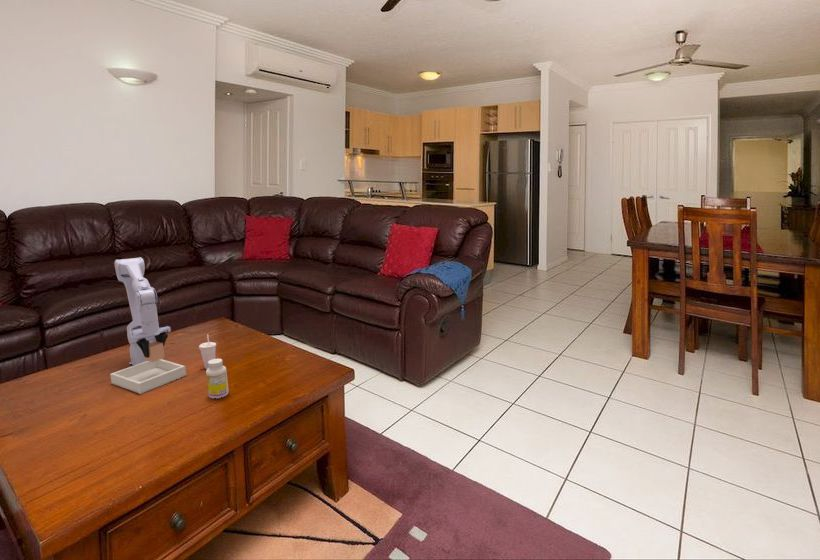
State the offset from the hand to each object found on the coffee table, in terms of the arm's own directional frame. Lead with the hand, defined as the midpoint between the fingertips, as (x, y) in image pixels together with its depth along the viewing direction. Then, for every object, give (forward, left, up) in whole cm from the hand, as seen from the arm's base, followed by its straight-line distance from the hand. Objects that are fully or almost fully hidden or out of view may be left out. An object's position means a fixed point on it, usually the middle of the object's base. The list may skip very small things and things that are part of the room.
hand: (153, 354), depth 175 cm
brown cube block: (0, 0, -2) cm, 2 cm away
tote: (+1, -3, -9) cm, 9 cm away
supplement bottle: (+35, +1, -9) cm, 36 cm away
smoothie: (+11, +16, -9) cm, 21 cm away
